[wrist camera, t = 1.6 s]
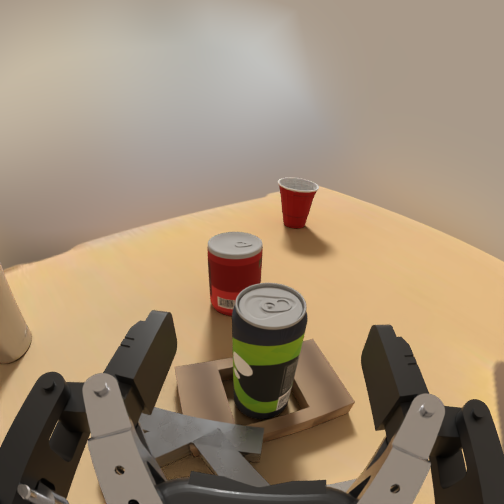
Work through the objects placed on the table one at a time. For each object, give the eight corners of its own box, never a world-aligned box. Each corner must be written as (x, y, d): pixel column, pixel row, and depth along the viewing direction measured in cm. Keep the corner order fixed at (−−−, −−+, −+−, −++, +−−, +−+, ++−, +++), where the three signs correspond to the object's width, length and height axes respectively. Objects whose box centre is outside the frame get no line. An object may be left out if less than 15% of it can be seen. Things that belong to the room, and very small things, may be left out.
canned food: (267, 310, 44) (272, 249, 39) (219, 322, 41) (216, 259, 36) (247, 284, 50) (249, 228, 45) (204, 294, 47) (201, 235, 42)
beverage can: (279, 376, 32) (295, 278, 25) (293, 417, 27) (321, 323, 20) (230, 383, 31) (227, 283, 24) (238, 426, 26) (238, 334, 19)
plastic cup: (287, 235, 69) (291, 188, 64) (268, 219, 78) (270, 178, 72) (322, 230, 73) (327, 187, 68) (300, 215, 82) (304, 176, 76)
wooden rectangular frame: (193, 456, 22) (190, 448, 21) (177, 378, 31) (174, 366, 30) (348, 412, 27) (354, 401, 26) (309, 351, 36) (312, 338, 35)
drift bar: (318, 506, 17) (323, 503, 16) (315, 490, 19) (320, 486, 18) (390, 487, 18) (399, 482, 17) (386, 473, 19) (394, 467, 18)
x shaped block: (279, 522, 16) (283, 520, 14) (97, 476, 17) (85, 468, 16) (287, 440, 24) (291, 430, 23) (127, 409, 26) (119, 396, 25)
